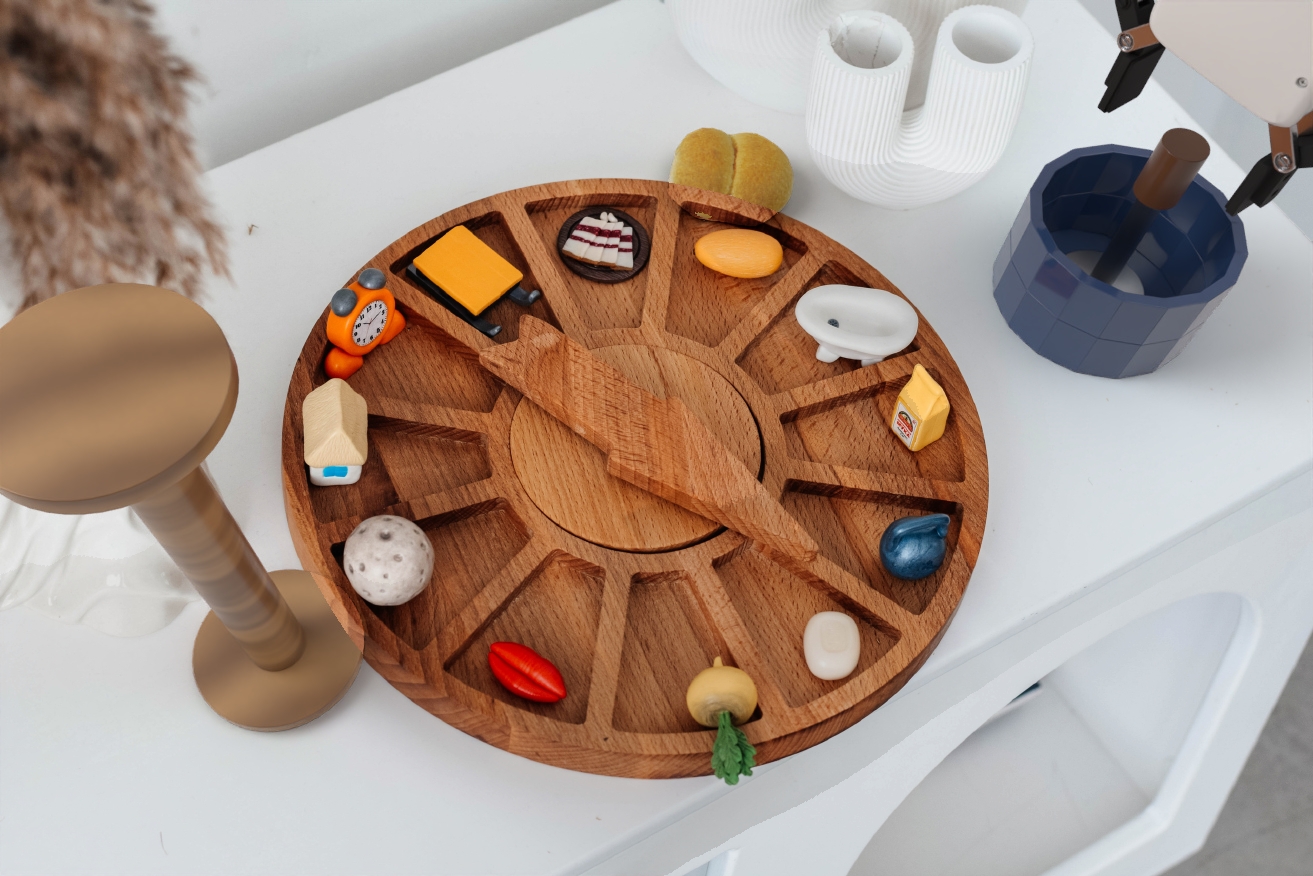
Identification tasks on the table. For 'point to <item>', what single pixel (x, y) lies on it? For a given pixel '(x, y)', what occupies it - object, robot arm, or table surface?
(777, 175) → the bread roll
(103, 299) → the cake stand
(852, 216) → the table surface
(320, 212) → the table surface
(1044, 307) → the pot
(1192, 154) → the masher
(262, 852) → the table surface
